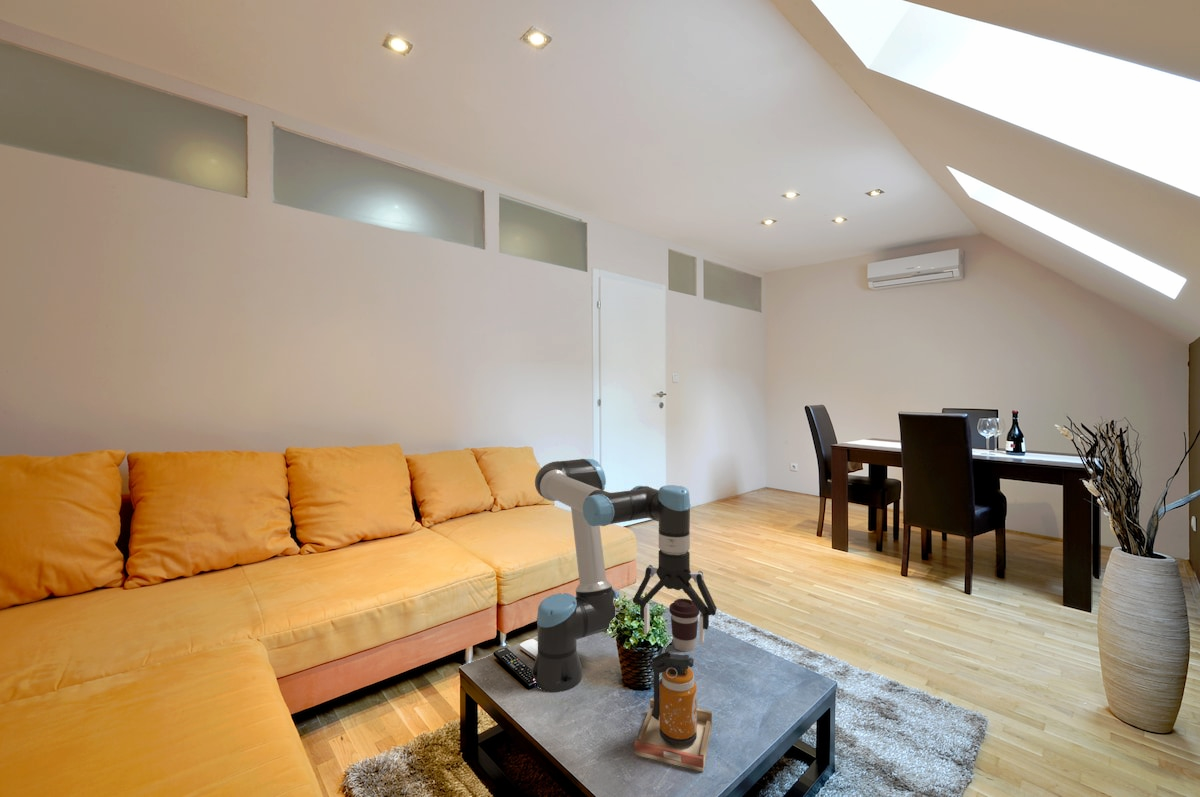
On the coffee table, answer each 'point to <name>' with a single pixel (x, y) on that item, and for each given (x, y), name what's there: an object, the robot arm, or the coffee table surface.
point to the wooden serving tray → (660, 750)
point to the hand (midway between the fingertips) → (673, 636)
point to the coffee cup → (684, 624)
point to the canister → (675, 698)
